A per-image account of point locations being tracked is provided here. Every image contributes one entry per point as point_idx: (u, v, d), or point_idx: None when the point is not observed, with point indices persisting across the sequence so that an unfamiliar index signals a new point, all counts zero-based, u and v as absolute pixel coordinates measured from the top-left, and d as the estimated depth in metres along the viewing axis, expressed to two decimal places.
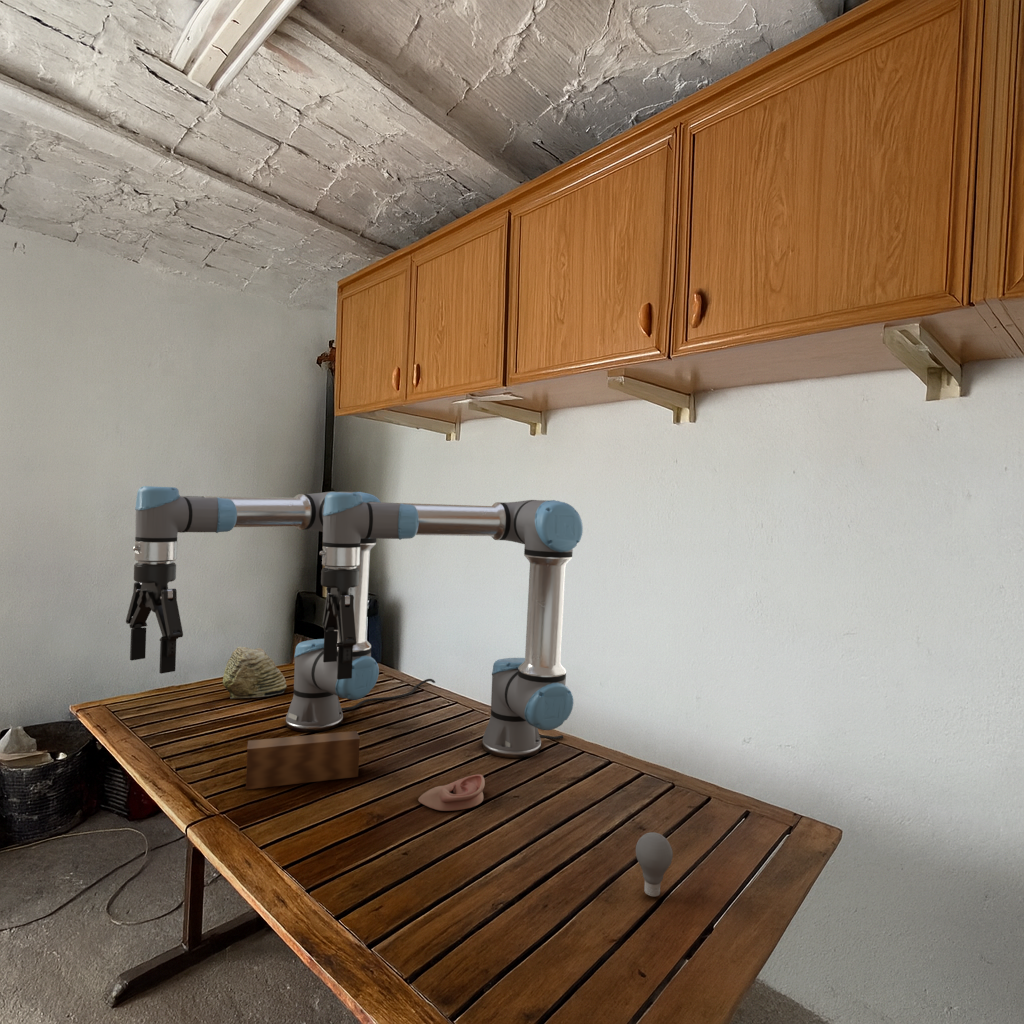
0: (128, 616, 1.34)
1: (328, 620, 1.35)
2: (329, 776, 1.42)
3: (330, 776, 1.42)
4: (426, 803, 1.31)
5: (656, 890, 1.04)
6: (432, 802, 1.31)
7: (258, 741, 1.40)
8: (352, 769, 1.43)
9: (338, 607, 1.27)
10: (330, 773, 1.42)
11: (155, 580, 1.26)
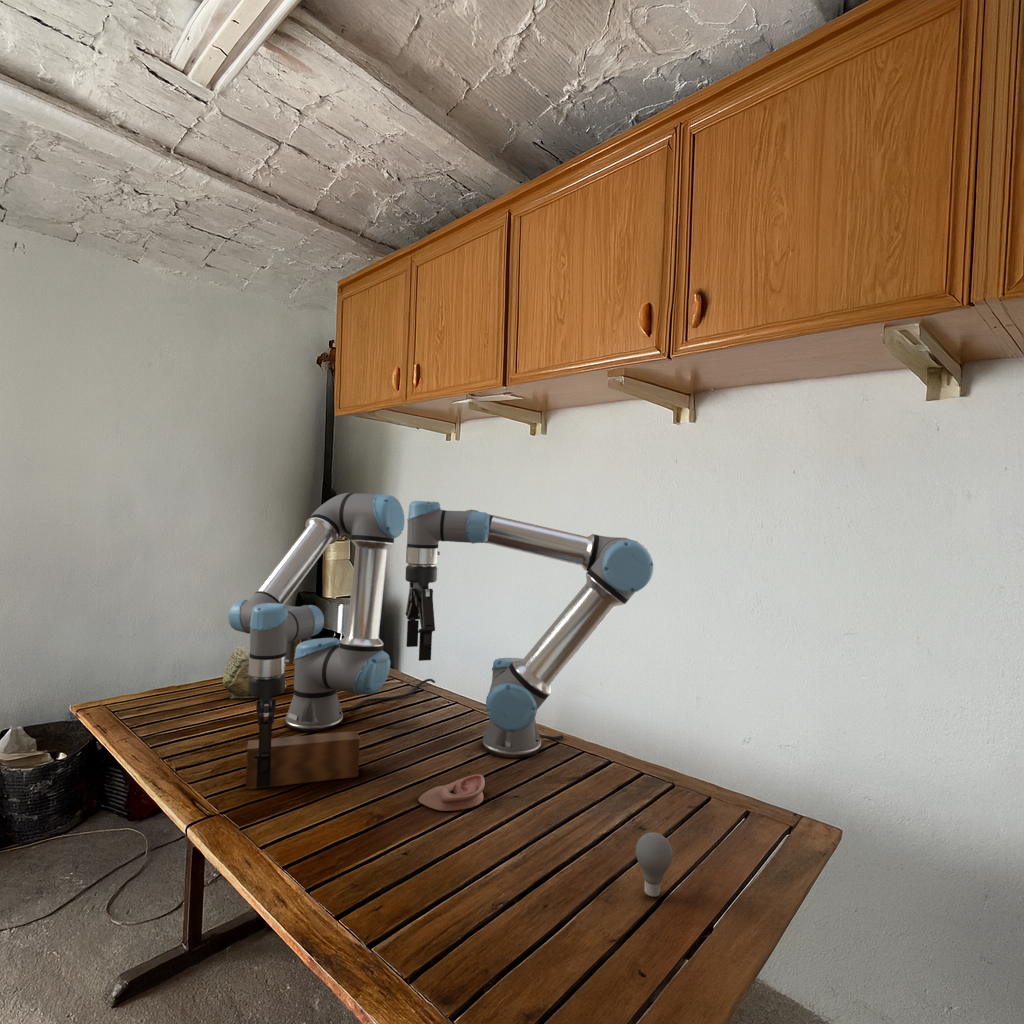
0: (270, 748, 1.34)
1: None
2: (329, 776, 1.42)
3: (330, 776, 1.42)
4: (426, 803, 1.31)
5: (656, 890, 1.04)
6: (432, 802, 1.31)
7: (258, 741, 1.40)
8: (352, 769, 1.44)
9: None
10: (330, 773, 1.42)
11: None
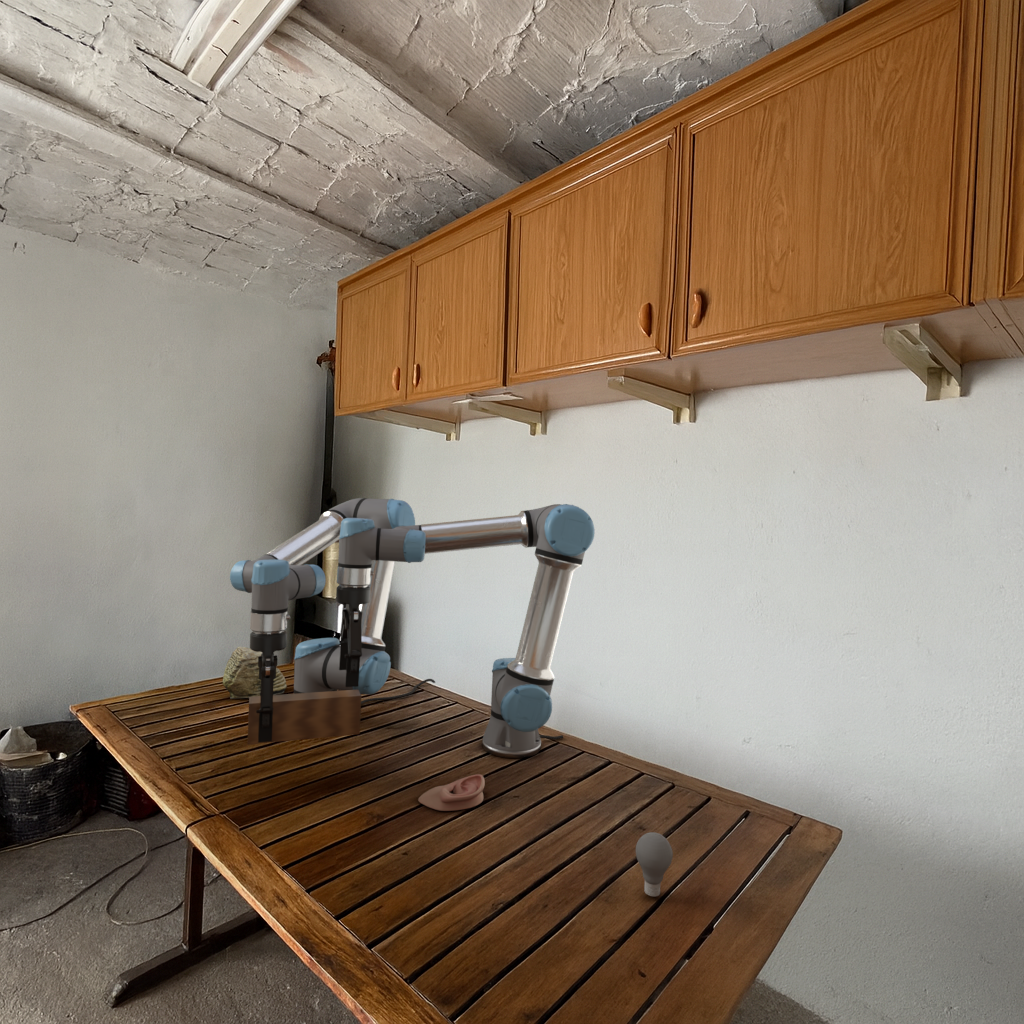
0: (272, 703, 1.34)
1: None
2: (331, 733, 1.42)
3: (332, 733, 1.42)
4: (426, 803, 1.31)
5: (656, 890, 1.04)
6: (432, 802, 1.31)
7: (260, 697, 1.39)
8: (354, 726, 1.43)
9: None
10: (332, 730, 1.42)
11: None
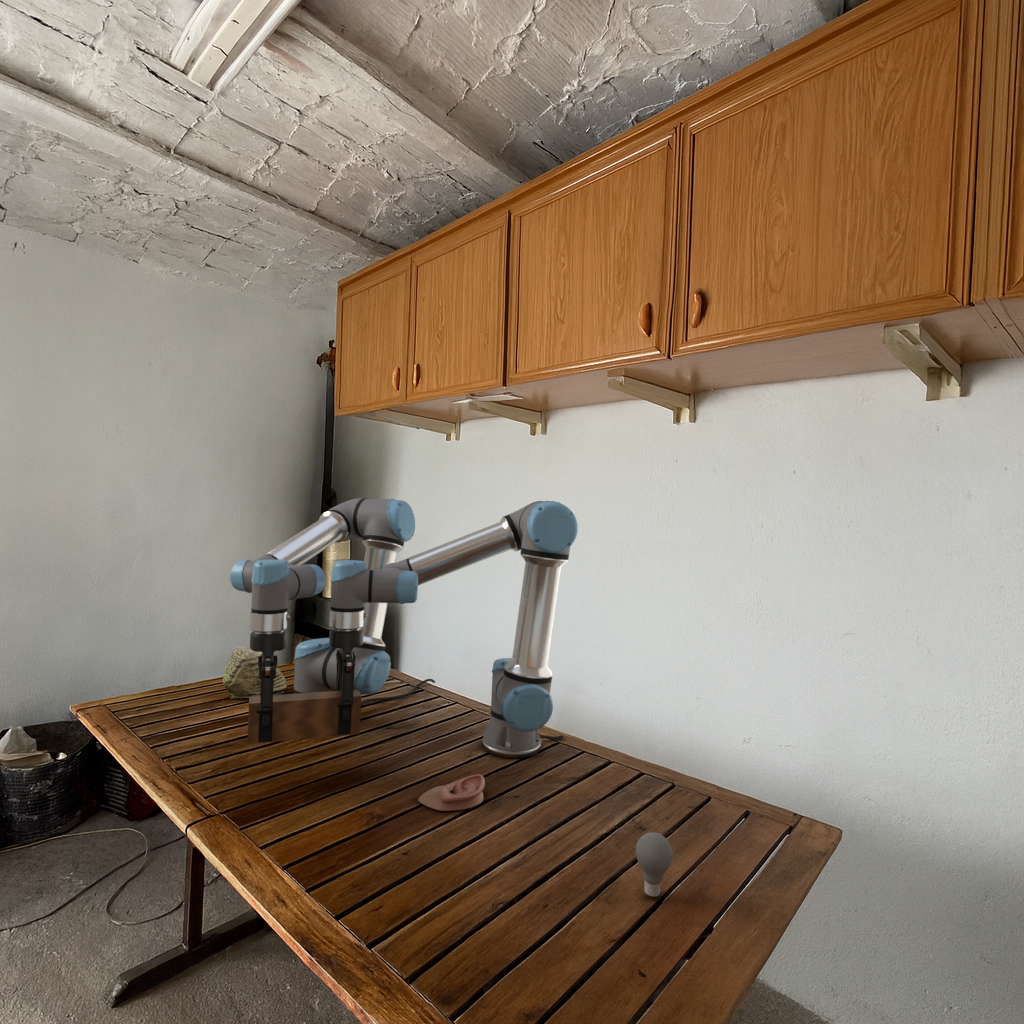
0: (272, 703, 1.34)
1: None
2: (331, 733, 1.42)
3: (332, 733, 1.42)
4: (426, 803, 1.31)
5: (656, 890, 1.04)
6: (432, 802, 1.31)
7: (260, 697, 1.39)
8: (354, 726, 1.43)
9: None
10: (332, 730, 1.42)
11: None
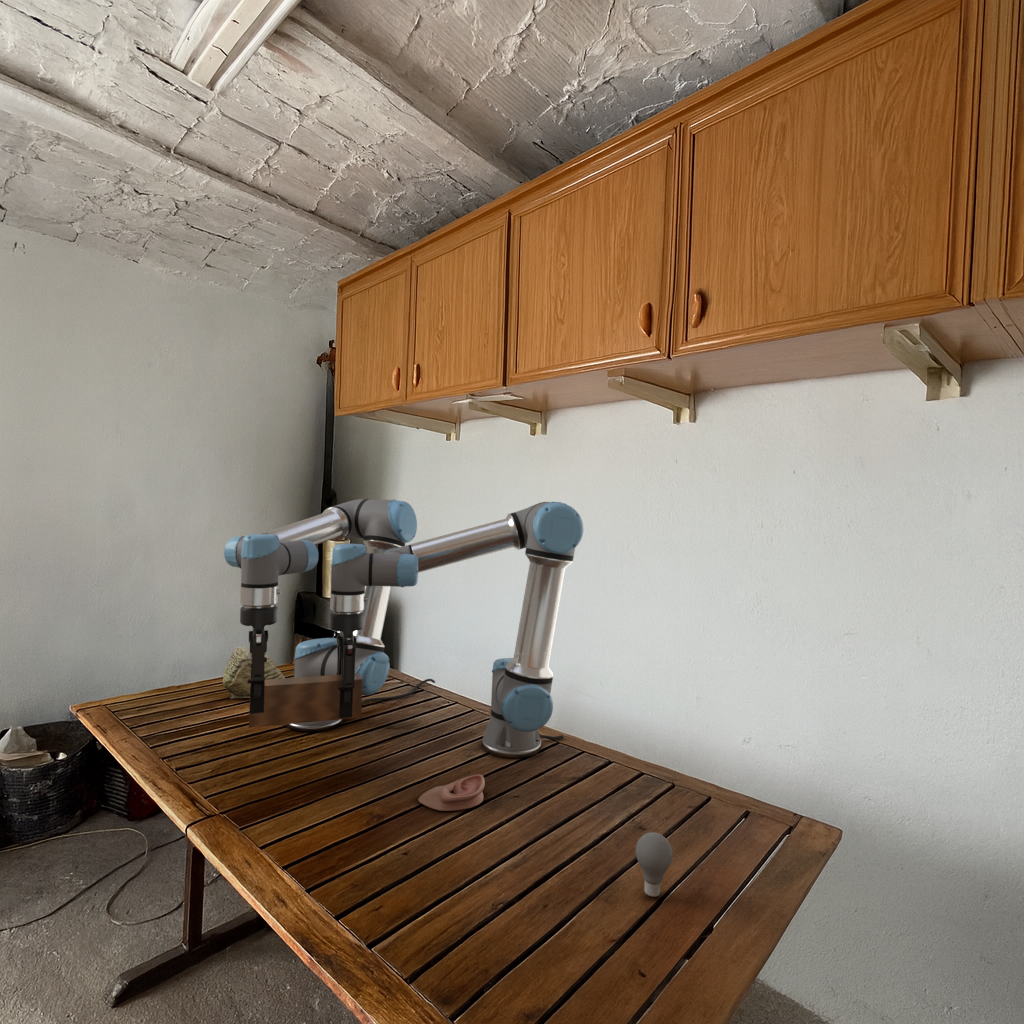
0: None
1: None
2: (332, 716, 1.42)
3: (333, 716, 1.42)
4: (426, 803, 1.31)
5: (656, 890, 1.04)
6: (432, 802, 1.31)
7: None
8: (355, 710, 1.43)
9: None
10: (333, 713, 1.42)
11: None
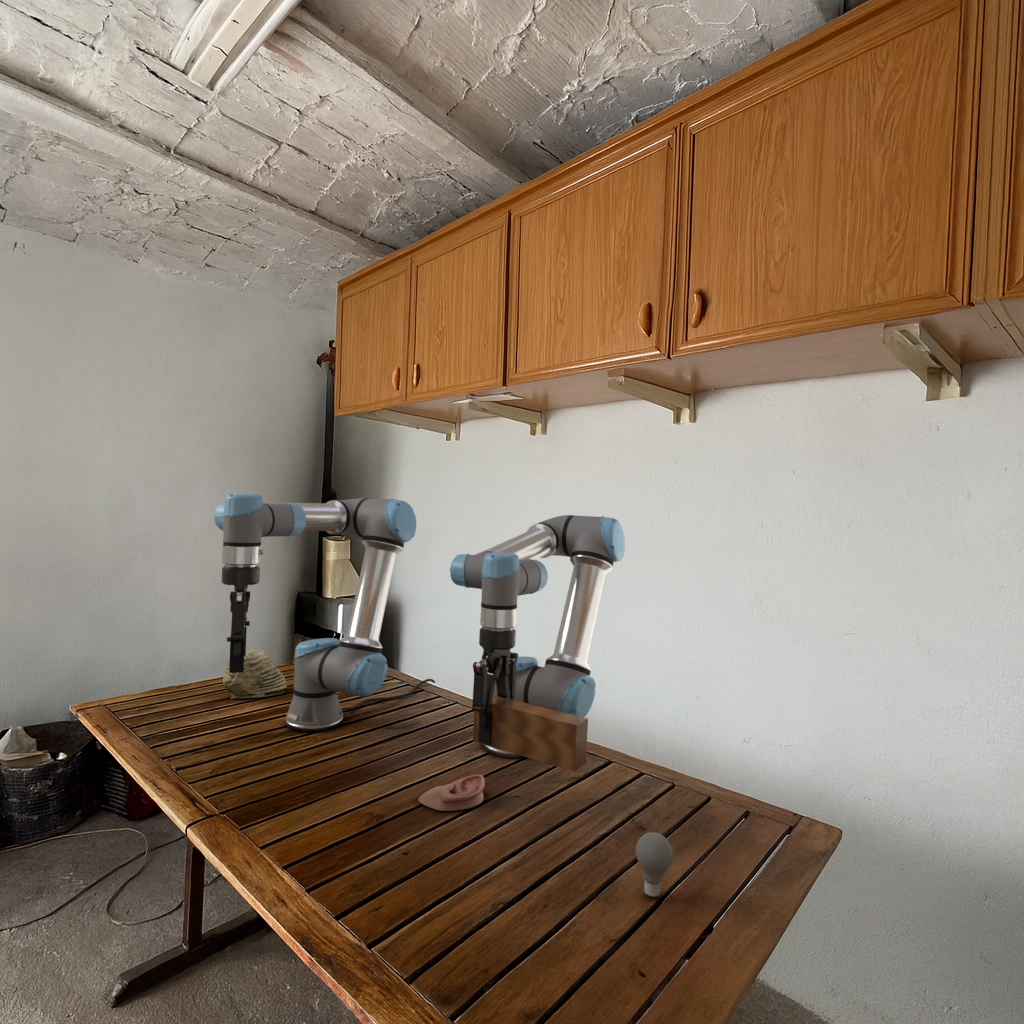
0: (244, 631, 1.28)
1: (497, 687, 1.34)
2: None
3: None
4: (426, 803, 1.31)
5: (656, 890, 1.04)
6: (432, 802, 1.31)
7: (569, 721, 1.20)
8: None
9: None
10: None
11: None
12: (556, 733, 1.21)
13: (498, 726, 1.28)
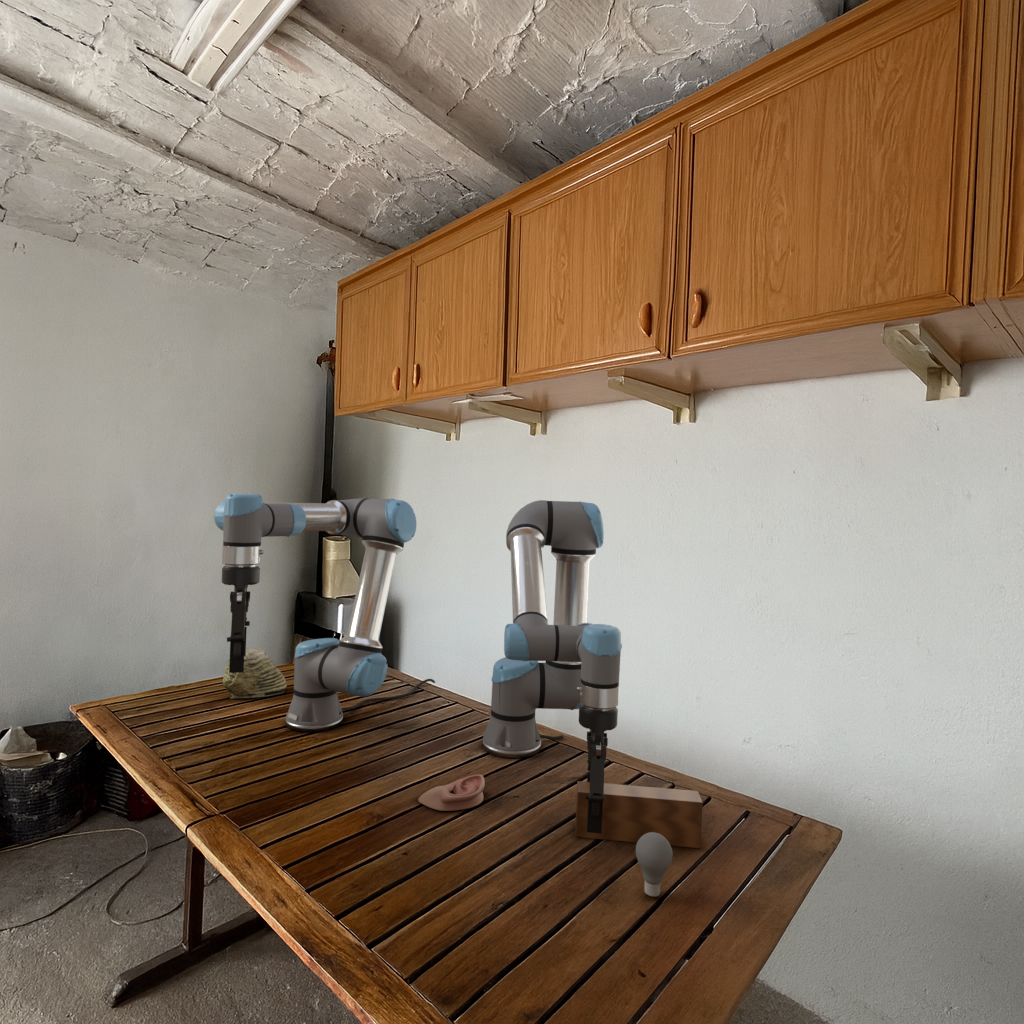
0: (244, 631, 1.28)
1: (590, 760, 1.28)
2: None
3: None
4: (426, 803, 1.31)
5: (656, 890, 1.04)
6: (432, 802, 1.31)
7: (689, 798, 1.21)
8: None
9: None
10: None
11: None
12: (679, 813, 1.20)
13: (608, 816, 1.21)
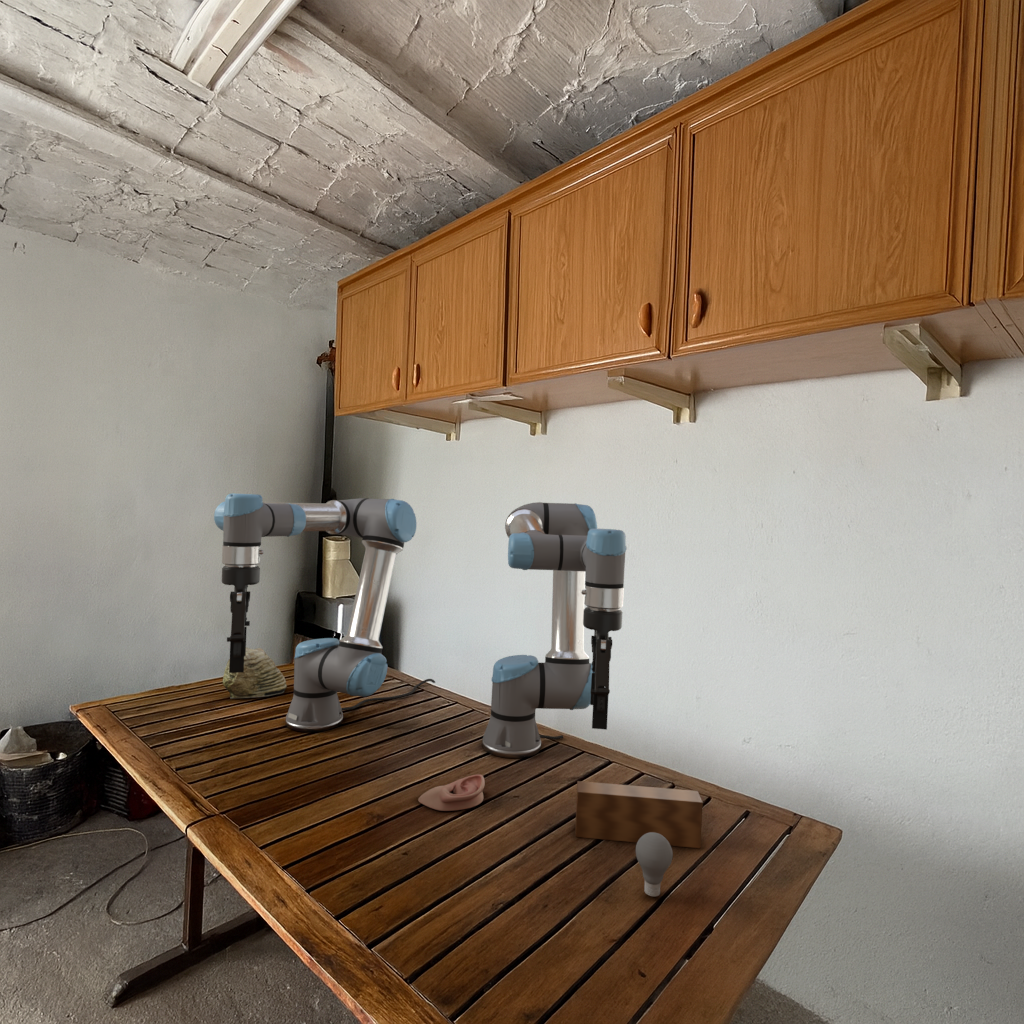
0: (244, 631, 1.28)
1: (594, 662, 1.29)
2: None
3: None
4: (426, 803, 1.31)
5: (656, 890, 1.04)
6: (432, 802, 1.31)
7: (689, 798, 1.21)
8: None
9: None
10: None
11: None
12: (679, 813, 1.20)
13: (608, 816, 1.21)
